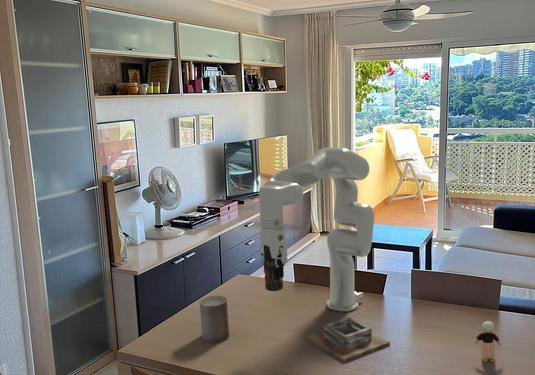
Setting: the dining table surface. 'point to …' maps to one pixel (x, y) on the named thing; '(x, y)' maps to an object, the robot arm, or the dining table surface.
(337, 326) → the collar stand
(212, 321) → the pillar candle
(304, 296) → the dining table surface
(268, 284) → the deodorant
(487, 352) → the grandmother figurine
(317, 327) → the dining table surface
